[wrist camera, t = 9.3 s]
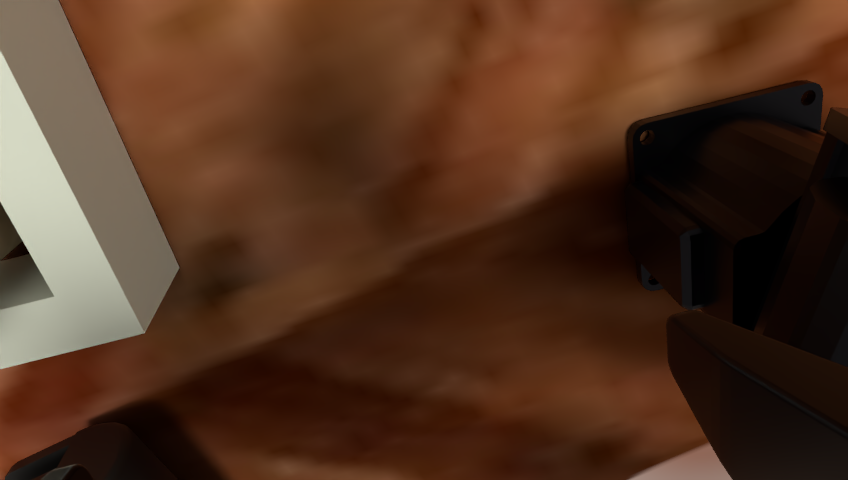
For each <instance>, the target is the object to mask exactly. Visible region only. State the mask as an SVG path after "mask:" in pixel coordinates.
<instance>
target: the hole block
mask: <svg viewBox="0 0 848 480" xmlns="http://www.w3.org/2000/svg"><path fill="white" fill-rule="evenodd" d="M0 202H1V204H2V206H3V207H4V209H5V211H6V213H7V214H8V216H9V218H10V220H11V221H12V223H13V225H14V227H15V228H16V230H17V232H18V234H19V235H20V237H21V239H22V241H23V242H24V244H25V246H26V248H27V249H28V251H29V253H30V254H27V255H23V256H19V257H15V258H11V259H7V260H3V261H0V369H3V368H7V367H11V366H15V365H19V364H23V363H27V362H31V361H35V360H39V359H43V358H47V357H51V356H55V355H59V354H63V353H67V352H71V351H76V350H80V349H84V348H88V347H92V346H96V345H100V344H104V343H108V342H112V341H116V340H120V339H124V338H128V337H132V336H136V335H140V334H144V333H145V332H146V330H147V328H148V326H149V324H150V322H151V320H152V319H153V317H154V315H155V313H156V311H157V309H158V307H159V305H160V304H161V302H162V300H163V298H164V296H165V294H166V292H167V290H168V288H169V287H170V285H171V283H172V281H173V279H174V277H175V275H176V273H177V272H178V270H179V265H178V263H177V261H176V259H175V257H174V254H173V252H172V250H171V248H170V246H169V243H168V241H167V239H166V237H165V234H164V232H163V230H162V228H161V226H160V223H159V221H158V219H157V217H156V215H155V212H154V210H153V208H152V206H151V204H150V201H149V199H148V197H147V195H146V193H145V190H144V188H143V186H142V184H141V181H140V179H139V177H138V175H137V173H136V170H135V168H134V166H133V164H132V162H131V159H130V157H129V155H128V153H127V151H126V148H125V146H124V144H123V142H122V139H121V137H120V135H119V133H118V131H117V128H116V126H115V124H114V122H113V120H112V117H111V115H110V113H109V111H108V109H107V106H106V104H105V102H104V100H103V98H102V95H101V93H100V91H99V89H98V86H97V84H96V82H95V80H94V78H93V75H92V73H91V71H90V69H89V67H88V64H87V62H86V60H85V58H84V56H83V53H82V51H81V49H80V47H79V44H78V42H77V40H76V38H75V36H74V33H73V31H72V29H71V27H70V25H69V22H68V20H67V18H66V16H65V14H64V11H63V9H62V7H61V5H60V3H59V0H0Z"/></svg>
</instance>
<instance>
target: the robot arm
mask: <svg viewBox="0 0 848 480" xmlns="http://www.w3.org/2000/svg"><path fill="white" fill-rule="evenodd" d="M806 91H807V93H808V94H807V97H806V99H805V100H804V101H803V102H801V97H802V95H803V94H804V93H805V92H806ZM822 100H823V91H822V88H821V86H820V85H819V84H816V83H814V82H810V81H807V80H806V81H798V82H794V83H790V84H786V85H782V86H778V87H774V88H769V89H765V90H761V91H757V92H753V93H749V94H745V95H741V96H737V97H733V98H729V99H725V100H721V101H717V102H713V103H709V104H705V105H701V106H696V107H692V108H688V109H684V110H680V111H676V112H672V113H668V114H664V115H660V116H656V117H652V118H648V119H644V120H640V121H638V122H636V123H635V124H634V125H633V126H632V127H631V128H630V130H629V132H628V151H629V165H630V179H631V183H629V185H628V186H627V188H626V190H625V203H626V217H627V230H628V243H629V251H630V253H631V254H632V255H633V256H634V257H635V258H636V265H637V278H638V281H639V282H640V283H641V284H642V286H643V287H644V288H645V289H647V290H650V291H655V290H659V289H663V288H664V289H665V290H666V291H667V292H668V293H669V294H670V295H671V296H672V297H673V298H674V299H675V300H676V301H677V302H678V303H679V304H680V305H681V306H682V307H684V308H685V309H687V310H689V311H686V312H682V313H678V314H674V315H671V316H670V317H669V318H668V319H667V323H666V332H667V354H668V363H669V367H670V370H671V373H672V375H673V377H674V379H675V380H676V382H677V384H678V386H679V388H680V390H681V391H682V393H683V395H684V397H685V399H686V401H687V402H688V404H689V406H690V408H691V410H692V411H693V413H694V415H695V417H696V419H697V421H698V422H699V424H700V426H701V428H702V430H703V432H704V433H705V435H706V437H707V439H708V441H709V443H710V444H711V446H712V447H713V450H714V451H715V453H716V455H717V457H718V458H719V460H720V462H721V463H722V465H723V466H724V468H725V469H726V471H727V472H728V474H729V475H730V477H731V478H732V479H733V480H848V109H846V108H831V109H830V112H829V115H828V117H827V120H826V123H825V125H824V128H823V130H825V131H826V132H827V133H825V132H822V131H820V127H821V113H822ZM646 130H649V137H648V138H647V139H646V140H645V141H643V142H640V136H641V134H642V133H643V132H644V131H646ZM651 275H652V276H653V277H654V278H653V279H651V280H649V277H650V276H651ZM696 309H701V310H702V311H703V312H704V313H703V312H700V311H696ZM41 480H94V479H93V477H92V476H91V474H90V473H89V471H88V470H87V468H86V467H84V466H83V465H81V464H74V465H70V466H66V467H62V468H58V469H55V470H52V471H50V472H49V473H48V474H46V475H45V476H44V477H43V478H42V479H41Z"/></svg>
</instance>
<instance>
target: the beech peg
mask: <svg viewBox="0 0 848 480" xmlns="http://www.w3.org/2000/svg"><path fill="white" fill-rule="evenodd" d="M21 242H22V239H21V237H20V235H19V234H18V232H17V230H16V228H15V227H14V225H13V223H12V221H11V220H10V218H9V216H8V214H7V213H6V211H5V209H4V207H3V206H2V204H1V202H0V261H1V260H2V259H3V258H4V257H5V256H6V255H7V254H8V253H10V252H11V251H12V250H13V249H14V248H15V247H16V246H17V245H19V244H20V243H21Z"/></svg>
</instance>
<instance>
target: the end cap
mask: <svg viewBox="0 0 848 480" xmlns="http://www.w3.org/2000/svg"><path fill="white" fill-rule="evenodd" d="M74 464H81V465H83V466H84V467H86V468H87V470H88V471H89V473H90V474H91V476H92V477H93V479H94V480H178V479H177V478H176V477H175V476H174V475H173V474H172V473H171V472H170V471H169V469H168V468H167V467H166V466H165V465H164V464H163V463H162V462H161V461H160V460H159V459H158V458H157V457H156V456H155V455H154V454H153V453H152V451H151V450H150V449H149V448H148V447H147V446H146V445H145V444H144V443H143V442H142V441H141V440H140V439H139V438H138V437H137V436H136V435H135V433H134V432H133V431H132V430H131V429H130V428H129V427H127V426H126V425H124V424H120V423H117V422H108V423H101V424H97V425H93V426H90V427H88V428H85V429H83V430H80V431H78V432H77V433H76V434H75V435H74V436H72V437H69V438H67V439H65V440H63V441H61V442H59V443H57V444H55V445H52V446H50V447H48V448H46V449H44V450H42V451H40V452H38V453H36V454H33V455H31V456H29V457H27V458H25V459H23V460H21V461H19V462H17V463H16V464H15V465H14V466H12V467H11V469H10V471H9V472H8V474H7V475H6V477H5V480H41V479H42V478H43V477H44V476H45V475H46V474H48V473H49V472H50V471H52V470H55V469H58V468H62V467H66V466H70V465H74Z"/></svg>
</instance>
